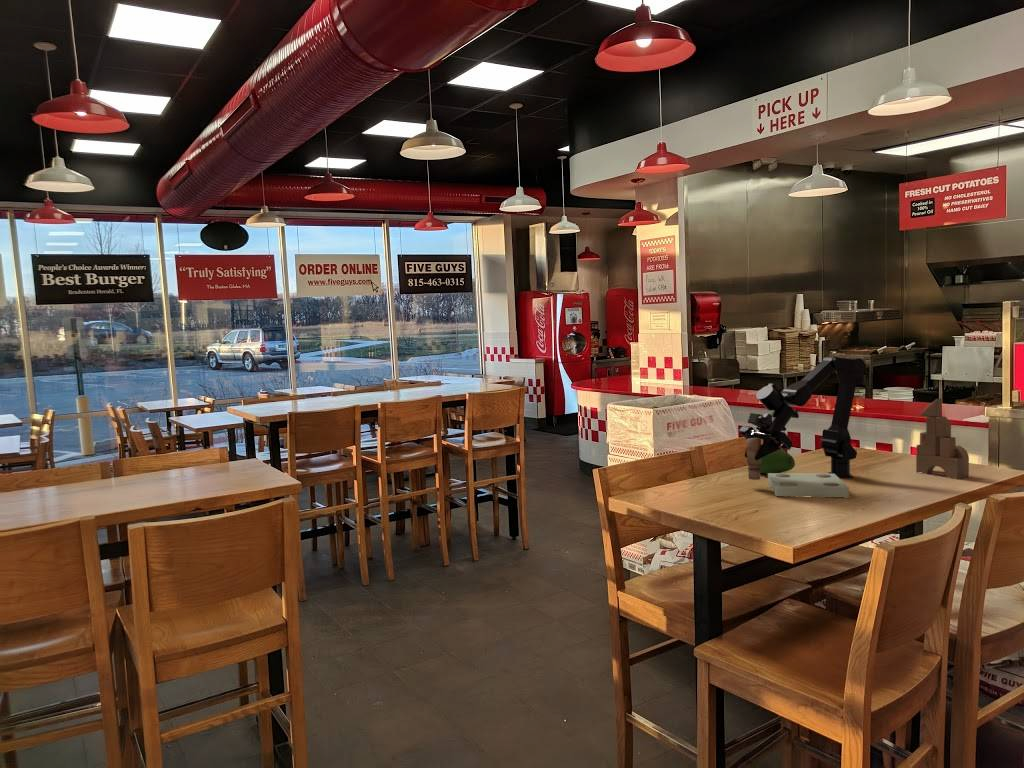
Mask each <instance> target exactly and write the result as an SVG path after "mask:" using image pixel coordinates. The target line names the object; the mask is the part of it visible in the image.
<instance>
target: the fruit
mask: <svg viewBox="0 0 1024 768" xmlns="http://www.w3.org/2000/svg"><path fill="white" fill-rule="evenodd" d="M779 448H780V450H777V451H775V452H773V453H770V454H768V455H766V456H764V457H762V458H761V464H760V473H762V474H764V473H786V472H789V471H792V470H793V469H794V468H795V465H796V462H795V459H794V457H793V455H791V454H790V453H788V452H787V450H785V449H783V448H782V447H779Z"/></svg>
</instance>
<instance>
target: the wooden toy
mask: <svg viewBox="0 0 1024 768" xmlns="http://www.w3.org/2000/svg"><path fill="white" fill-rule="evenodd" d="M942 400H943V399H942V398H936V399H934V401H932V402H931V403H930V404H929V405H928V406H927V407H926V408H925V409H923V410H922V411H921V412H920V413H919V416H920V417H925V421H926V423H925V425H926V427H925V429H926V430H925V431H922V432H920V433H919V444H916V456H915V461H916V462H915V466H916V467H915V469H916V471H915V472H916V473H917V472H922V473H921V474H923V473H929V474H932V473H933V472H934V469H935V468H936V467H938V468H941V469H942V470H943V471H944V473H945V477H946V478H947V477H951V478H950V479H953V478H956V479H955V480H960V479H959V478H961V479H963V477H964V478H967V477H966V476H968V477H969V476H970V475H969V472H970V471H969V470H970V467H969V466H970V457H969V453H968V451H967V450H966V449H965V448H964V447H963V446H962V445H959V444H958V445H957V444H956V441H957V440H956V439H957V438H956V437H953V436H952V422H951V421H950V420H949V418H948V417H946V416H945V415H944V416H942V415H943V414H942V413H943V412H942V407H943V405H942V404H943V403H942V402H943V401H942ZM931 472H932V473H931Z"/></svg>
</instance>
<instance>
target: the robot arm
mask: <svg viewBox="0 0 1024 768" xmlns="http://www.w3.org/2000/svg"><path fill="white" fill-rule="evenodd" d="M866 365H867V364H866V363H865V361H864V359H863V358H861V357H839V356H835V355H833V356H830V355H829V356H825V357H823V359H822V360H821V361H820V363H819V364H817V365H816V366H815V367H814V368H813V369H811V371H809V373H807V374H806V375H805V376H804V377H803V378H802V379H801V380H799V381H797V382H794V383H791V384H789V385H788V386H786V387H785V388H784V389H782V391H780V390H779V389H778V388H777V386H776V385H775V384H774V383H768V385H766V386H763V387H762V388H760V389H759V390H758V391H757V392H756V396H755V397H756V399H757V400H758V401H759V402H760V404H761V405H762V406H763V407H764V408H765V409H766V410H768V411H771V412H770V413H769V412H767V413H764V414H760V413H753V412H750V414H749V416H748V420H747V424H752V425H754V426H755V428H754V427H753V426H748V425H743V426H741V427H740V428H739V430H738V432H739V433H740V434H741V435H742V437H743V438H745V440H746V441H747V439H748V438H759V439H761V441H762V443H761V447H760V449H759V450H758V452H757V454H756V456H755V460H759V459H761V458H762V457H764V456H766V455H768V454H770V453H773V452H775V451H777V450H780V448H781V449H783V450H785V451H790V450H791V448H792V447H793V443H794V442H793V440H792V439H791V438H790V437H789V436H788V434H787V433H786V431H787V428H786V427H787V424H788V423H789V421H790V420H791V419H793V418H795V419H799V418H800V415H799V412H798V409H796V408H795V409H794V408H793V407H794V406H796V407H803V406H805V405H806V404H807V403H808V402H809V400H810V399H811V398H812V395H813V391H814V390H816V388H818V386H819V385H821V384H822V383H823V381H825V380H826V379H827V378H828V377H829V376H831V374H833V373H834V371H836V372H835V373H836V377H837V380H838V382H839V383H838V384H839V385H838V390H837V395H836V399H835V404H834V409H833V414H832V421H831V424H830V426H829V427H828V428H827V429H825V428H824V429H823V430H822V436H821V439H820V442H821V448H822V449H823V452H824V455H825V457H830V471H828V473H827V474H835V475H836V476H837V477H838V478H854V475H853V474H852V473H851V460H855V459H857V454H858V452H857V450H856V449H855V448H854V447H853V446H852V444H851V440H852V439H851V438H852V437H851V433H850V432H849V429H848V427H849V422H850V418H851V413H852V407H853V402H854V397H855V392H856V387H857V385H858V384H859V383H860V381H861V380H862V379H863V377H864V374H865V373H866V372H865V371H866V369H867V366H866ZM743 455H744V456H743V457H745V458H746V459H747V447H746V449H745V453H744V454H743Z"/></svg>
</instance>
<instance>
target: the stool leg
mask: <svg viewBox="0 0 1024 768" xmlns="http://www.w3.org/2000/svg"><path fill="white" fill-rule="evenodd" d="M761 445H762V439H759V438H748V439H747V440H746V448H747V458H746V464H748V465H747V468H748V471H747V472H748V479H749V480H752V481H759V480H761V472H760V464H761V459H759V460H755V456H756V454H757V452H758V450H759V449H760V447H761Z"/></svg>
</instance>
